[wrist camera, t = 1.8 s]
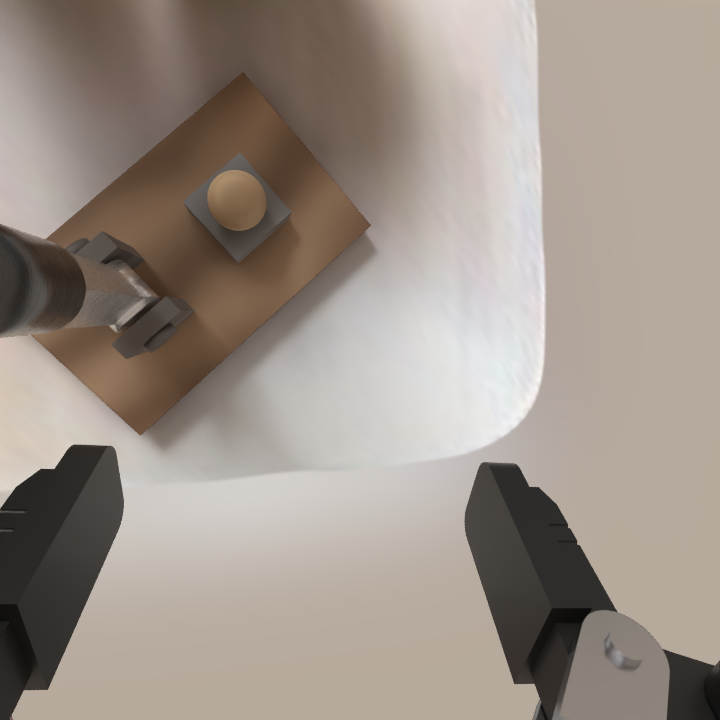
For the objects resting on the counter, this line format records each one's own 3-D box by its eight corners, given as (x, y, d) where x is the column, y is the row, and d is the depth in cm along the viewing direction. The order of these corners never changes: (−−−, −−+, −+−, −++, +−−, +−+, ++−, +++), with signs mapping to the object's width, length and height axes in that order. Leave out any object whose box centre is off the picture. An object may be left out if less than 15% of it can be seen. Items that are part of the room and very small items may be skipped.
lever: (74, 294, 26) (-470, 239, 6) (127, 249, 26) (-243, 67, 7) (126, 344, 27) (-223, 429, 7) (176, 300, 27) (-29, 266, 8)
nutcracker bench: (1, 292, 30) (-87, 285, 22) (244, 86, 32) (240, 13, 24) (147, 428, 33) (113, 464, 25) (364, 230, 34) (396, 206, 27)
